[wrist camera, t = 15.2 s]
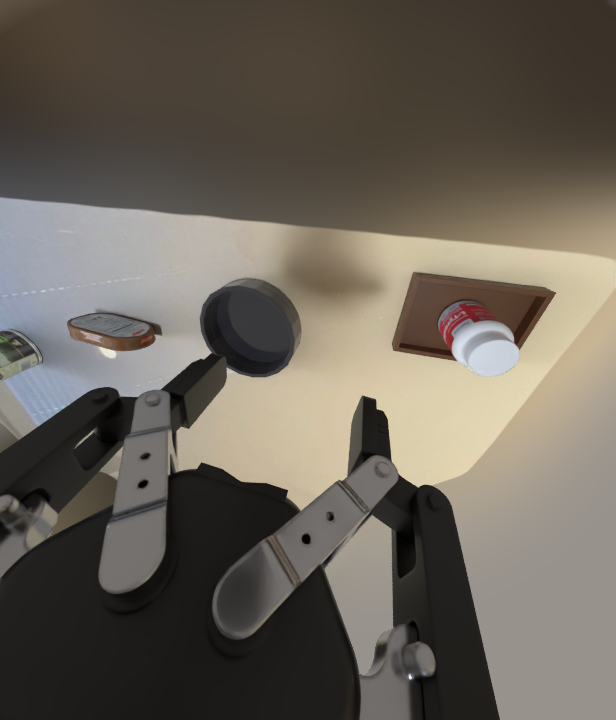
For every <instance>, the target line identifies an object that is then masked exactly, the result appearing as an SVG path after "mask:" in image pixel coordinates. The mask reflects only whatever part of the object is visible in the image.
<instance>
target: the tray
mask: <svg viewBox="0 0 616 720" xmlns="http://www.w3.org/2000/svg"><path fill="white" fill-rule="evenodd" d="M555 294H556V292H553V291H551V290H549V289H546V288H543V287H534V286H525V285H517V284H508V283H500V282H491V281H483V280H474V279H466V278H457V277H449V276H440V275H432V274H423V273H413V276H412V279H411V282H410V286H409V289H408V292H407V296H406V299H405V302H404V306H403V309H402V312H401V316H400V319H399V322H398V326H397V329H396V332H395V336H394V339H393V342H392V346H393V351H399V352H405V353H411V354H417V355H423V356H429V357H435V358H442V359H448V360H454V361H457V360H456V359H455V357H454V356H453V354H452V352H451V351H450V349H449V347H448V345H447V344H446V342H445V340H444V338H443V337H442V335H441V333H440V331H439V328H438V321H439V318H440V316H441V314H442V313H443V311H444V310H445V309H446V308H448V307H449V306H450V305H452V304H454V303H456V302H460V301H475V302H477V303H479V304H481V305H482V306H484V307H485V308H486V309H487V310H488V311H490V312H491V313H492V314H493V315H494V316H495V317H497V318H498V319H499V320H500V321H501V322H502V323H504V324H505V325H506V326H507V327H508V328H509V329H510V330H511V332H512V333H513V336H514V344H515V345H516V346H517V347H518V349H519V350H520V349H521V347H522V346H523V344H524V342H525V341H526V339H527V338H528V336H529V335H530V333H531V331H532V330H533V328H534V327H535V325H536V324H537V322H538V321H539V319H540V317H541V316H542V314H543V313H544V311H545V310H546V308H547V306H548V305H549V303H550V302H551V300H552V299H553V297H554V296H555Z"/></svg>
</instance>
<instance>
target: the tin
mask: <svg viewBox="0 0 616 720" xmlns="http://www.w3.org/2000/svg"><path fill="white" fill-rule="evenodd" d="M67 325H68V329H69V332H70V337H71V338H73V339H75V340H78V341H82V342H85V343H89V344H92V345H96V346H99V347H103V348H106V349H110V350H114V351H132V350H138V349H142V348H145V347H148V346H150V345H151V344H153V343H154V342H155V336H154V330H153V327H152V326H151V325H150V324H148V323H145V322H142V321H138V320H134V319H131V318H127V317H123V316H119V315H115V314H110V313H91V314H87V315H84V316H80V317H76V318H73V319H70V320H69V321H68V322H67Z"/></svg>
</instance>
